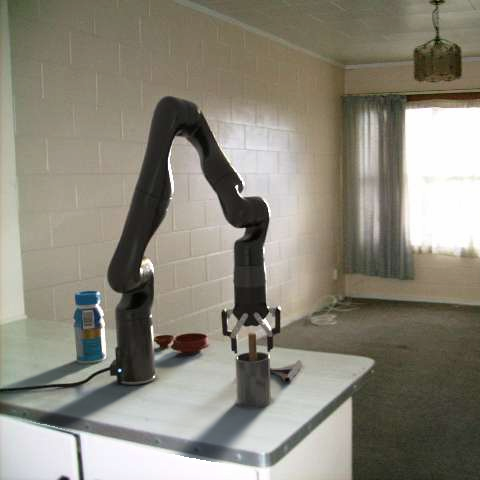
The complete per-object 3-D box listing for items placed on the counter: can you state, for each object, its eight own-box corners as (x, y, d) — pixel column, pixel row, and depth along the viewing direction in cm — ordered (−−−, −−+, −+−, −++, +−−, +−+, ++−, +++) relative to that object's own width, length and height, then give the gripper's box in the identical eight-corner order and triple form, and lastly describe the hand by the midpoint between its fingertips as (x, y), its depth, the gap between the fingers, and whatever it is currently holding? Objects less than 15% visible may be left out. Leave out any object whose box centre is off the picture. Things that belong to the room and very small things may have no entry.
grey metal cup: (236, 409, 147) (234, 362, 145) (237, 396, 155) (236, 352, 153) (271, 407, 147) (269, 361, 146) (270, 394, 155) (269, 351, 154)
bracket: (250, 364, 179) (250, 354, 179) (302, 366, 177) (302, 356, 176) (234, 381, 165) (234, 371, 165) (290, 384, 163) (290, 373, 162)
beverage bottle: (69, 362, 184) (64, 294, 182) (90, 354, 192) (86, 289, 189) (92, 365, 181) (88, 296, 178) (112, 356, 189) (108, 290, 186)
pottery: (192, 359, 184) (191, 345, 184) (142, 350, 194) (142, 336, 194) (218, 349, 194) (217, 335, 194) (169, 341, 205) (169, 327, 204)
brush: (246, 402, 149) (244, 336, 147) (246, 396, 153) (244, 332, 151) (262, 401, 149) (259, 335, 147) (262, 396, 153) (259, 331, 151)
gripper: (280, 278, 152) (282, 346, 154) (220, 281, 151) (222, 348, 153) (281, 284, 144) (283, 355, 146) (217, 287, 143) (220, 358, 145)
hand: (252, 351), depth 149 cm, fingers open, 7 cm apart
